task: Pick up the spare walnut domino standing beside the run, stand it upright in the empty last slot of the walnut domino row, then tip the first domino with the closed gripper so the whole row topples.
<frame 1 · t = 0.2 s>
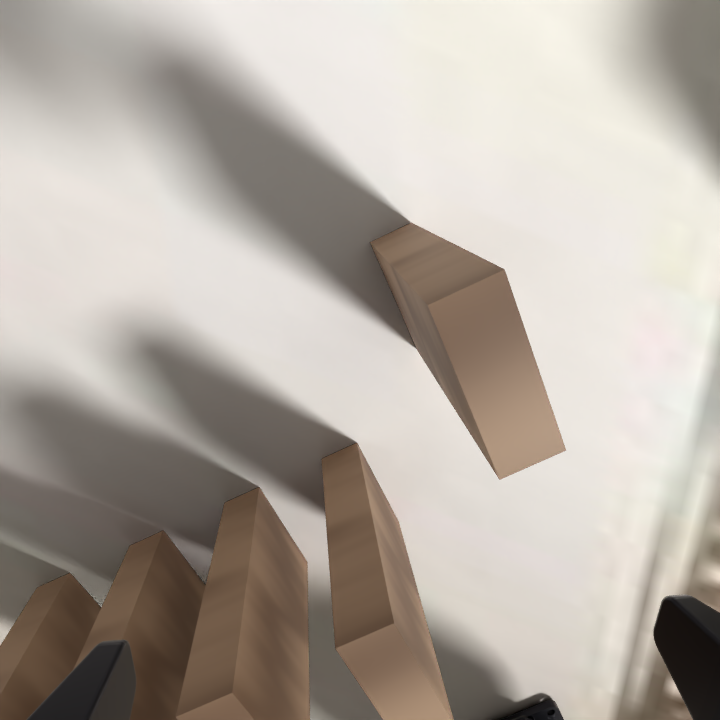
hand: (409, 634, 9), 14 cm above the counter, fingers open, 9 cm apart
domino 4: (85, 615, 25), on the counter
domino 3: (175, 574, 25), on the counter
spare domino: (413, 288, 21), on the counter
domino 2: (267, 533, 25), on the counter
domino 1: (361, 491, 24), on the counter
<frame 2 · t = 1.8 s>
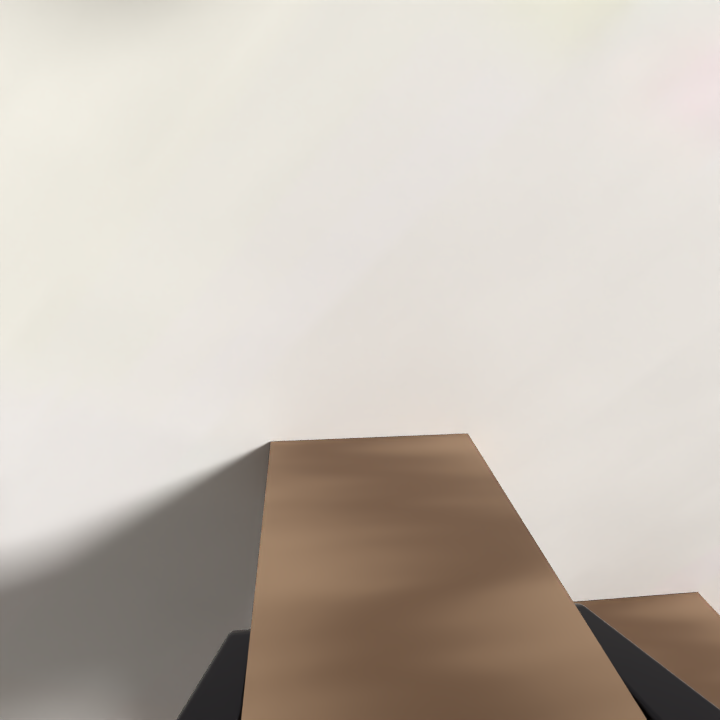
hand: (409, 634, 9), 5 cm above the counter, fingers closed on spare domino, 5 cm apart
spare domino: (370, 468, 13), on the counter, touching gripper
domino 1: (617, 620, 16), on the counter
when the fingers open (6 cm above the counter, at t = 7.4 s): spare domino stays where it is, on the counter.
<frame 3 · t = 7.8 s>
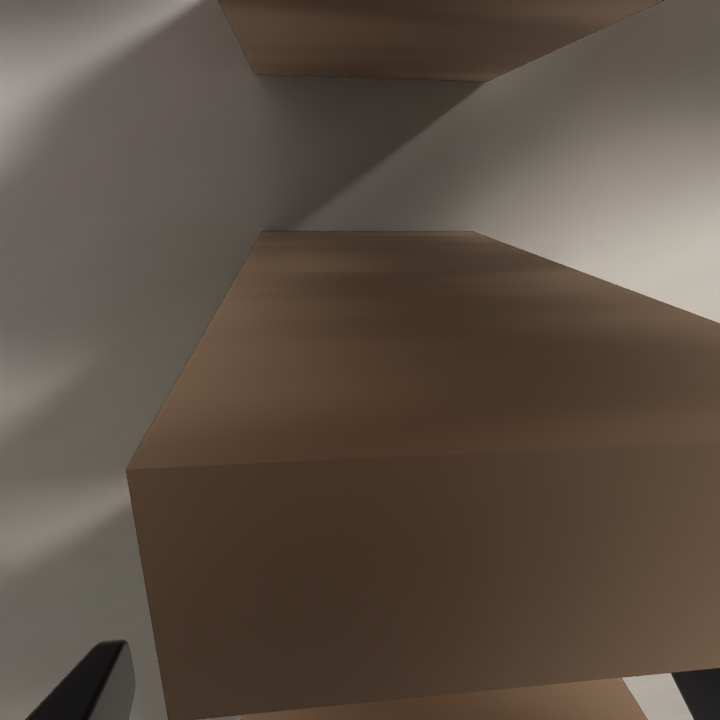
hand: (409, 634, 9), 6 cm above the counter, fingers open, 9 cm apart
domino 4: (369, 269, 12), on the counter
domino 3: (374, 28, 11), on the counter
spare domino: (366, 449, 14), on the counter
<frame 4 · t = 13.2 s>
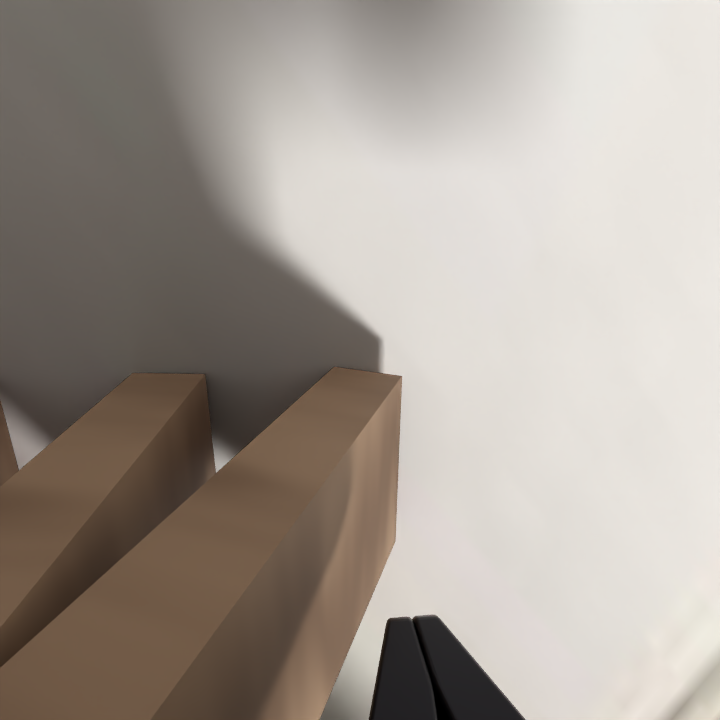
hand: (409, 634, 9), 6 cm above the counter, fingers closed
domino 2: (180, 461, 14), on the counter, tilted 8°
domino 1: (366, 457, 14), on the counter, tilted 26°
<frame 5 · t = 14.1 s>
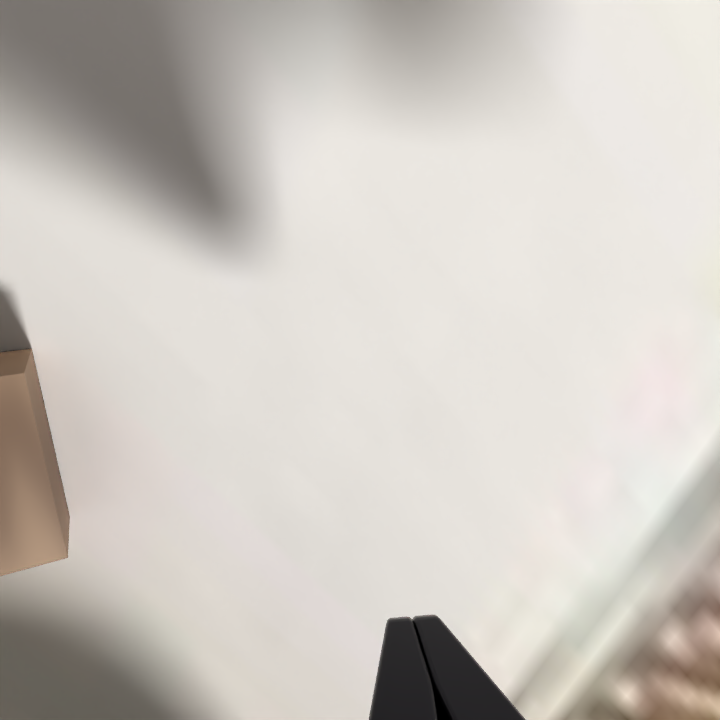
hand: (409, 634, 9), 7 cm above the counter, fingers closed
domino 1: (49, 454, 13), point 1 cm above the counter, tilted 70°, touching domino 2
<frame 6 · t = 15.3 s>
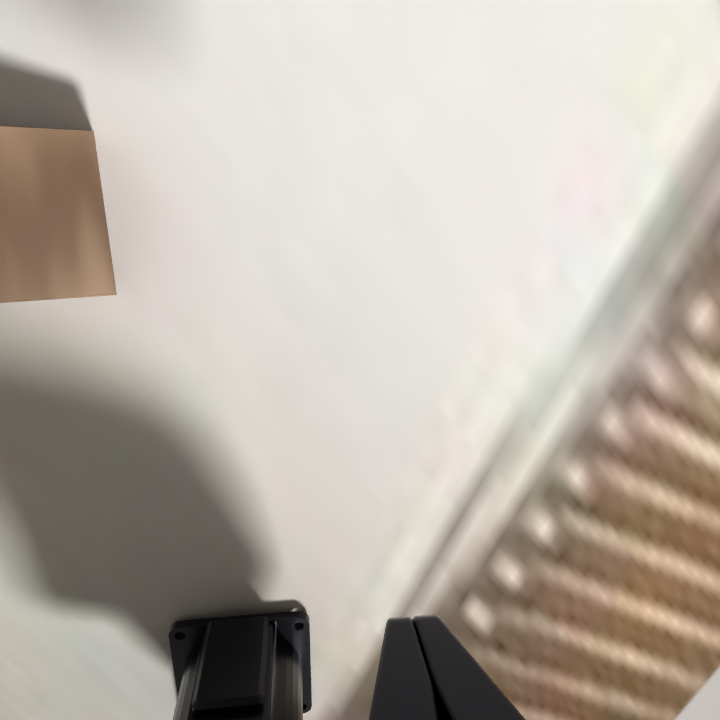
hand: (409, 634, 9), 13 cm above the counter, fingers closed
domino 1: (105, 214, 17), point 1 cm above the counter, tilted 70°, touching domino 2
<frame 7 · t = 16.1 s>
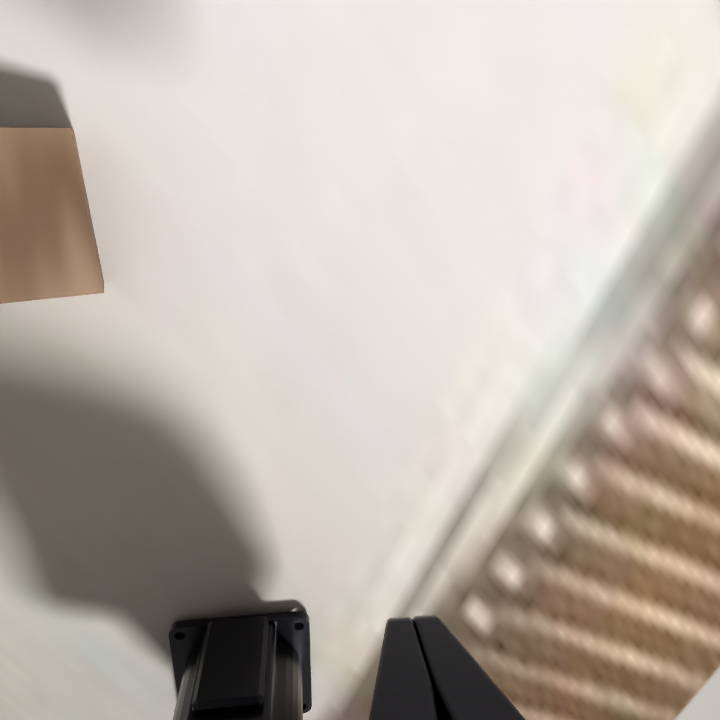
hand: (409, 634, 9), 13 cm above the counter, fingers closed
domino 1: (89, 212, 17), point 1 cm above the counter, tilted 71°, touching domino 2
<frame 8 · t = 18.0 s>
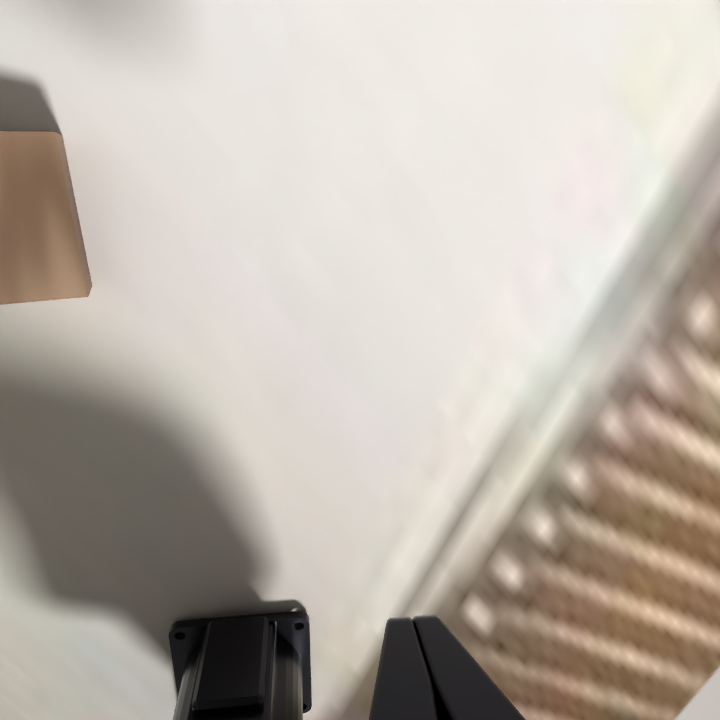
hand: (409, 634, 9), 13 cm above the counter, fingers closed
domino 1: (75, 216, 17), point 1 cm above the counter, tilted 74°, touching domino 2
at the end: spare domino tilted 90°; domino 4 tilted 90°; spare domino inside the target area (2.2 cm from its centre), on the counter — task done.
